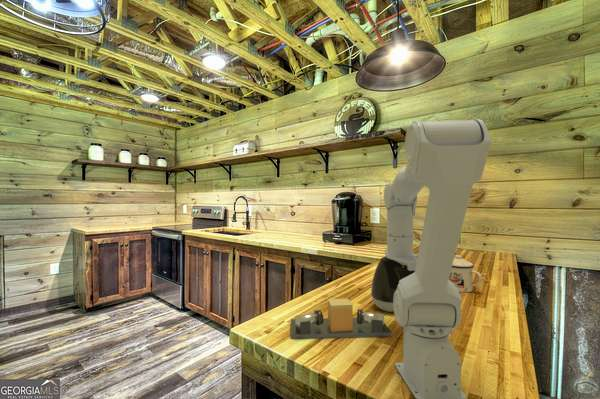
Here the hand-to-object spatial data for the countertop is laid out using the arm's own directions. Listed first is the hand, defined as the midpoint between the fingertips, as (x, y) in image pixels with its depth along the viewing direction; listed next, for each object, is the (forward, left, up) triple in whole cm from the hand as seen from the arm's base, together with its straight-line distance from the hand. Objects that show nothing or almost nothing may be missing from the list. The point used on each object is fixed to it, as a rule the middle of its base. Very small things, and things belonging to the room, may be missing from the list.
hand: (400, 293), depth 65 cm
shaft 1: (+1, +21, -9) cm, 23 cm away
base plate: (+3, +14, -9) cm, 17 cm away
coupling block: (+2, +14, -8) cm, 16 cm away
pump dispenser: (+15, -3, -10) cm, 18 cm away
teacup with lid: (+30, -34, -10) cm, 46 cm away
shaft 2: (+1, +7, -8) cm, 11 cm away
